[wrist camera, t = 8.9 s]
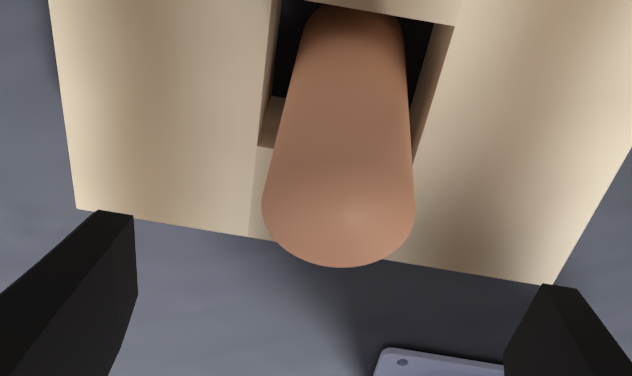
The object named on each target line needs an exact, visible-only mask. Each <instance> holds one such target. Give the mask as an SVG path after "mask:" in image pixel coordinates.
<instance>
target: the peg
mask: <svg viewBox="0 0 632 376" xmlns="http://www.w3.org/2000/svg"><path fill="white" fill-rule="evenodd" d="M261 212H262V217H263V220H264V223H265V226H266V228H267V229H268V231H269V233H270V234H271V236H272V237H273V238H274V240H275V241H276V242H277V243H278V244H279V245H280V246H282V247H283V248H284V249H285V250H287V251H288V252H290V253H291V254H293V255H294V256H296V257H298V258H300V259H302V260H305V261H307V262H310V263H313V264H317V265H321V266H327V267H336V268H349V267H358V266H363V265H367V264H370V263H373V262H376V261H378V260H381V259H383V258H385V257H386V256H388V255H390V254H391V253H393V252H394V251H395V250H397V249H398V248H399V247H400V246H401V245H402V244H403V243H404V241H405V240H406V239H407V237H408V236H409V234H410V232H411V230H412V227H413V224H414V220H415V196H414V182H413V167H412V152H411V137H410V123H409V108H408V93H407V78H406V63H405V49H404V37H403V32H402V29H401V27H400V24H399V22H398V21H397V19H396V18H395V16H392V15H387V14H381V13H375V12H370V11H364V10H358V9H352V8H347V7H341V6H335V5H329V4H323V5H322V6H320V7H319V8H318V9H317V10H316V11H314V13H313V14H312V15H311V16H310V17H309V19H308V21H307V22H306V24H305V27H304V29H303V32H302V36H301V40H300V44H299V48H298V52H297V57H296V61H295V65H294V69H293V73H292V77H291V81H290V85H289V89H288V93H287V97H286V101H285V105H284V109H283V113H282V117H281V121H280V126H279V130H278V134H277V138H276V142H275V146H274V150H273V154H272V158H271V162H270V166H269V170H268V174H267V178H266V182H265V186H264V191H263V195H262V201H261Z"/></svg>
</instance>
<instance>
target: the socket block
mask: <svg viewBox="0 0 632 376" xmlns="http://www.w3.org/2000/svg"><path fill="white" fill-rule="evenodd" d="M306 1H312V2H318V3H324V4H329V5H335V6H341V7H347V8H352V9H358V10H364V11H370V12H375V13H381V14H387V15H392V16H398V17H404V18H410V19H415V20H421V21H427V22H433V23H434V26H433V29H432V33H431V36H430V40H429V43H428V47H427V51H426V54H425V58H424V61H423V65H422V68H421V72H420V75H419V79H418V83H417V86H416V90H415V93H414V97H413V100H412V104H411V107H410V111H409V123H410V137H411V152H412V167H413V182H414V196H415V220H414V224H413V227H412V230H411V232H410V234H409V236H408V237H407V239H406V240H405V241H404V243H403V244H402V245H401V246H400V247H399V248H398V249H397V250H395V251H394V252H393V253H391V254H390V255H388V256H386V257H385V258H383V259H384V260H390V261H396V262H402V263H408V264H414V265H420V266H426V267H432V268H439V269H445V270H451V271H457V272H463V273H469V274H475V275H481V276H487V277H493V278H499V279H505V280H511V281H517V282H523V283H529V284H535V285H542V283H544V284H550V285H553V283H554V281H555V280H556V278H557V276H558V274H559V273H560V271H561V269H562V267H563V266H564V264H565V262H566V260H567V259H568V257H569V255H570V253H571V252H572V250H573V248H574V246H575V245H576V243H577V241H578V239H579V238H580V236H581V234H582V232H583V231H584V229H585V227H586V225H587V224H588V222H589V220H590V218H591V217H592V215H593V213H594V212H595V210H596V208H597V206H598V205H599V203H600V201H601V199H602V198H603V196H604V194H605V192H606V191H607V189H608V187H609V185H610V184H611V182H612V180H613V178H614V177H615V175H616V173H617V171H618V170H619V168H620V166H621V164H622V163H623V161H624V159H625V157H626V156H627V154H628V152H629V151H630V149H631V147H632V0H306ZM48 3H49V10H50V17H51V25H52V32H53V39H54V47H55V54H56V61H57V69H58V76H59V83H60V91H61V98H62V105H63V113H64V120H65V127H66V135H67V142H68V149H69V157H70V164H71V171H72V179H73V186H74V193H75V201H76V208H77V209H82V210H88V211H94V212H95V211H97V210H104V211H110V212H117V213H123V214H129V215H133V218H136V219H142V220H148V221H154V222H160V223H166V224H172V225H178V226H184V227H190V228H197V229H203V230H209V231H215V232H221V233H227V234H233V235H239V236H245V237H251V238H257V239H263V240H269V241H275V240H274V238H273V237H272V236H271V234H270V233H269V231H268V229H267V228H266V226H265V223H264V220H263V217H262V212H261V201H262V195H263V191H264V186H265V182H266V178H267V174H268V170H269V166H270V162H271V158H272V154H273V150H274V146H275V142H276V138H277V134H278V130H279V126H280V121H281V117H282V113H283V109H284V105H285V101H286V98H283V97H277V96H271V94H272V86H273V77H274V68H275V59H276V50H277V41H278V32H279V23H280V14H281V6H282V0H48ZM275 242H276V241H275Z"/></svg>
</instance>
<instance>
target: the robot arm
mask: <svg viewBox="0 0 632 376" xmlns="http://www.w3.org/2000/svg"><path fill="white" fill-rule="evenodd" d="M137 296H138V286H137V269H136V252H135V235H134V218H133V215H129V214H123V213H117V212H110V211H104V210H97V211H95V212H94V213H92V214H91V215H90V216H89V217H88V218H87V219H86V220H85V221H83V222H82V223H81V224H80V225H79V226H78V227H77V228H76V229H75V230H74V231H72V232H71V233H70V234H69V235H68V236H67V237H66V238H65V239H64V240H62V241H61V242H60V243H59V244H58V245H57V246H56V247H55V248H53V249H52V250H51V251H50V252H49V253H48V254H47V255H45V256H44V257H43V258H42V259H41V260H40V261H39V262H37V263H36V264H35V265H34V266H33V267H32V268H30V269H29V270H28V271H27V272H26V273H24V274H23V275H22V276H21V277H20V278H18V279H17V280H16V281H15V282H14V283H12V284H11V285H10V286H9V287H8V288H6V289H5V290H4V291H3V292H2V293H0V376H108V374H109V372H110V369H111V367H112V365H113V363H114V361H115V359H116V356H117V354H118V352H119V350H120V348H121V345H122V342H123V339H124V336H125V333H126V330H127V327H128V324H129V321H130V318H131V315H132V312H133V309H134V305H135V302H136V299H137ZM503 363H504V365H498V364H492V363H486V362H480V361H473V360H467V359H461V358H455V357H449V356H443V355H436V354H430V353H424V352H418V351H412V350H406V349H399V348H391V347H390V348H386V349H384V350H382V352H381V354H380V357H379V360H378V362H377V365H376V368H375V371H374V374H373V376H632V362H631V361H630V359H629V358H628V357H627V355H626V354H625V353H624V351H623V350H622V349H621V347H620V346H619V345H618V343H617V342H616V341H615V339H614V338H613V337H612V335H611V334H610V333H609V331H608V330H607V328H606V327H605V326H604V324H603V323H602V322H601V320H600V319H599V318H598V316H597V315H596V314H595V312H594V311H593V310H592V308H591V307H590V306H589V304H588V303H587V302H586V300H585V299H584V298H583V296H582V295H581V294H580V293H579V291H578V290H577V289H574V288H568V287H562V286H556V285H550V284H544V283H542V285H541V287H540V288H539V290H538V292H537V294H536V296H535V297H534V299H533V301H532V303H531V305H530V306H529V308H528V310H527V312H526V314H525V315H524V317H523V319H522V321H521V323H520V324H519V326H518V328H517V330H516V332H515V333H514V335H513V337H512V339H511V341H510V342H509V344H508V346H507V348H506V350H505V351H504V353H503Z"/></svg>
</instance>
